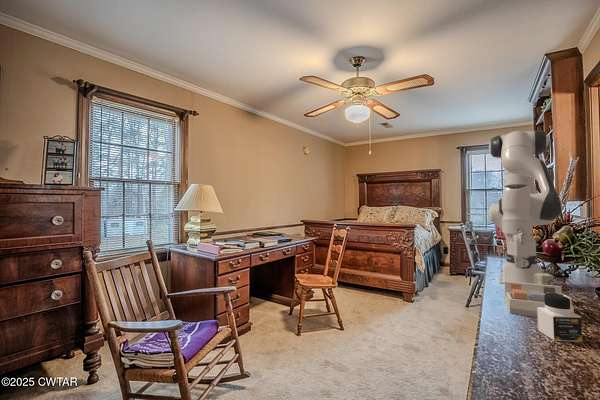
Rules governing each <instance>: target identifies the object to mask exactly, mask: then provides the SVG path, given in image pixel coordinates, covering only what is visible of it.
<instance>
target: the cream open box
mask: <svg viewBox="0 0 600 400" xmlns="http://www.w3.org/2000/svg"><path fill="white" fill-rule="evenodd" d="M504 283H505V284H504ZM504 283H503V284H504V303H505V305H506V307H507V310H508V312H509V314H510V315H511V314H512V315H518V316H525V317H526V316H527V317H534V318H538V313H537V308H538V307H545V302H536V301H531V299H530V298H529V290H530V291H540V292H543V293H544V294H547V292H551V293H561V294H563V292H562V286H561V285H555V284H554V285H542V284H531V283H520V282H508V281H504ZM512 289H520V290H525V291H526V293H527V299H528V301H527V300H518V299H514V298H513V296H512ZM574 309H575V308H574V305H573V304H572V311H571V312H572V313H575V311H574Z"/></svg>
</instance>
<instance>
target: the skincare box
mask: <svg viewBox="0 0 600 400" xmlns="http://www.w3.org/2000/svg"><path fill="white" fill-rule="evenodd" d="M534 274H535V284H542V285H554V286H555V281H554V275H552V274H549V273H543V272H542V273H534Z"/></svg>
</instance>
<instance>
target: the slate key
mask: <svg viewBox="0 0 600 400" xmlns="http://www.w3.org/2000/svg"><path fill="white" fill-rule="evenodd" d="M544 295H545V294H544V293H543V292H540V291H530V290H529V298H530V299H531V301H536V302H545V301H544Z"/></svg>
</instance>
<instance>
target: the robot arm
mask: <svg viewBox="0 0 600 400" xmlns="http://www.w3.org/2000/svg"><path fill="white" fill-rule="evenodd" d="M549 143H550V140H549V136H548V134H547V132H546V131H544V130H541V129H534V130H527V131H523V130H515V131H511V132H509V133H507V134H503V135H497V136H494V137H492V138H491V139H490V141H489V145H488V151H489V153H490V154H491V156H492V157H493V158H496V159H499V158H500V162H501V166H502V167H503V169H504V187H503V188H502V194H501V198H500V199H499V200H498V203H494V204H491V206H489V208H488V210H487V217H488V219H489V221H491V223H493V224H494V225H495V226H497V227H498V228H499V229H500V230H501V231H502V233H503V235H504V237H505V241H506V251H507V252H506V253H505V254H506V255H505V259H506V260H505V261H506V263H504V265H502V267H501V268H500V272H501V276H500V278H499V279H498V283H500V284H504V285H505V283H504V281H508V282H520V283H531V284H535V274H534V273H543V268H542V267H541V266H540V265H539V264H538V263H539V261H538V260H539V258H538V255H537V241H536V238H535V237H534V236H533V235H534V231H533V230H534V229H533V228H534V226H543V225H544V226H545V225H546V226H547V225H550V224H552V223H553V222H554V221H555V219H557V218H559V217H560V216H561V215H562V212H563V202H562V200H561V199H560V197H559V195H558V192H557V190H556V187H555V185H554V182H553V179H552V176H551V174H550V172H549V169H548V166H547V164H546V162H545V161H544V160H543V159H539V158H538V156H539V155H542V154H543V153H544V152H545V151H547V148H548V146H549ZM535 181H536V182H537V183H538V187H539V189H540V192H539V193H537V190H536V187H535Z"/></svg>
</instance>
